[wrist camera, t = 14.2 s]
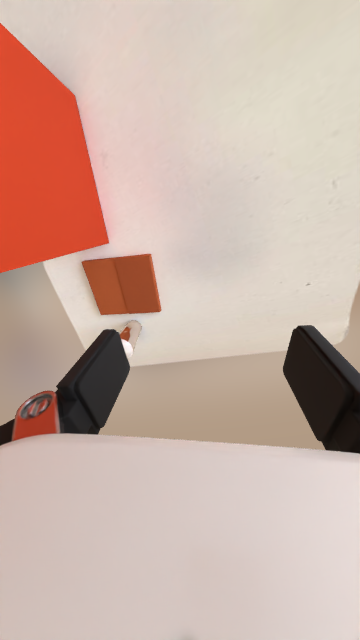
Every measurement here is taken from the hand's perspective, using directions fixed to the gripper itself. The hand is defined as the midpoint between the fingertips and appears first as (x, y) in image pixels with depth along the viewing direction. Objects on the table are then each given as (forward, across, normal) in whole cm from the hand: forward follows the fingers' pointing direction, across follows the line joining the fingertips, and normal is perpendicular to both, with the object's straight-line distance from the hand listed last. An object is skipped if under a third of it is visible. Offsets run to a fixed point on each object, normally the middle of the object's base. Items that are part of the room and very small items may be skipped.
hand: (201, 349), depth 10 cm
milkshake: (+24, +15, +14) cm, 32 cm away
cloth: (+24, +15, +4) cm, 29 cm away
